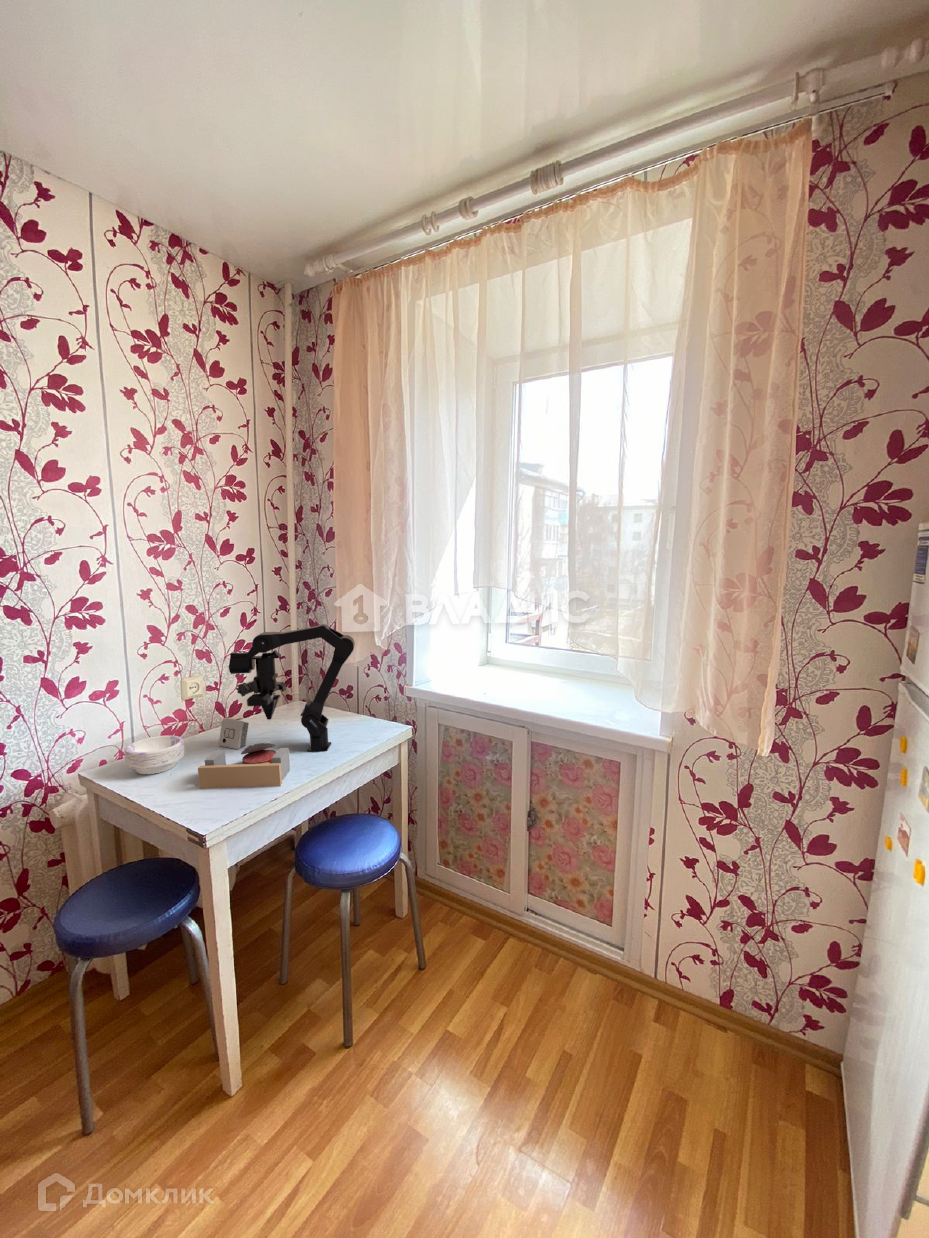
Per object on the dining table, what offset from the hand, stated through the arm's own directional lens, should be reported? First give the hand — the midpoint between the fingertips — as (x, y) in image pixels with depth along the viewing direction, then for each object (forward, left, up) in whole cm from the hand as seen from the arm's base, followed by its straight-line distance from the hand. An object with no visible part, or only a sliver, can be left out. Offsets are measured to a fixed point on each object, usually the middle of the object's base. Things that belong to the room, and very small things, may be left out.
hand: (269, 719), depth 159 cm
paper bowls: (+10, -31, -11) cm, 34 cm away
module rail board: (+19, 0, -11) cm, 22 cm away
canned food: (+10, 0, -11) cm, 15 cm away
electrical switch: (-7, -15, -11) cm, 20 cm away
